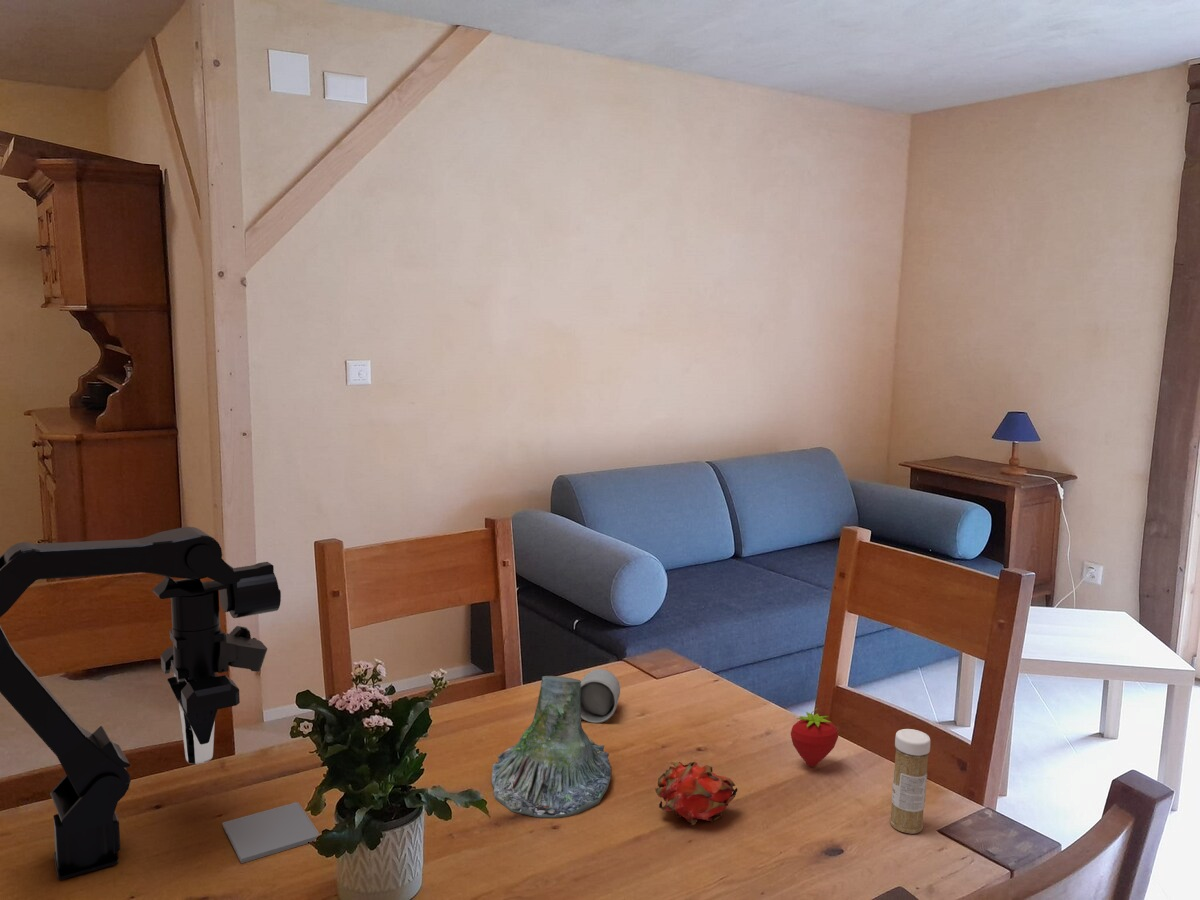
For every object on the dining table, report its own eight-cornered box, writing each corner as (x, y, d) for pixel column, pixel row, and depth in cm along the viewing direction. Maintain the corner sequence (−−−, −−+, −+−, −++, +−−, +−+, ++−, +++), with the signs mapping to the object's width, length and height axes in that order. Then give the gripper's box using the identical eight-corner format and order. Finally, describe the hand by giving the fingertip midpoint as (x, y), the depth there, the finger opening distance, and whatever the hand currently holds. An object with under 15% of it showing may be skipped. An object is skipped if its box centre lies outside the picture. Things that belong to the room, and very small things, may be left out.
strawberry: (843, 774, 141) (847, 712, 139) (797, 777, 139) (801, 715, 138) (826, 756, 147) (830, 697, 145) (782, 759, 145) (785, 700, 144)
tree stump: (463, 808, 129) (472, 679, 131) (519, 777, 148) (526, 665, 150) (585, 827, 123) (592, 692, 125) (627, 792, 142) (633, 676, 144)
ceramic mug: (621, 705, 164) (621, 664, 163) (616, 725, 156) (616, 682, 155) (563, 702, 165) (563, 661, 164) (555, 721, 157) (555, 679, 156)
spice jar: (891, 814, 129) (897, 725, 127) (925, 822, 128) (932, 731, 126) (887, 830, 125) (894, 738, 123) (922, 838, 123) (929, 745, 122)
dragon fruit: (646, 825, 128) (727, 833, 130) (662, 818, 121) (748, 826, 122) (648, 762, 132) (727, 771, 134) (664, 752, 125) (747, 761, 126)
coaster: (241, 863, 114) (241, 859, 114) (222, 826, 122) (222, 822, 122) (320, 839, 120) (320, 835, 120) (297, 805, 128) (297, 801, 128)
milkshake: (209, 770, 119) (207, 697, 117) (173, 764, 120) (170, 692, 118) (230, 753, 123) (228, 683, 121) (195, 748, 124) (192, 679, 122)
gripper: (279, 634, 116) (282, 749, 118) (242, 596, 131) (246, 699, 133) (185, 650, 109) (190, 772, 112) (157, 609, 125) (163, 717, 127)
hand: (200, 737), depth 121 cm, fingers closed on milkshake, 4 cm apart
